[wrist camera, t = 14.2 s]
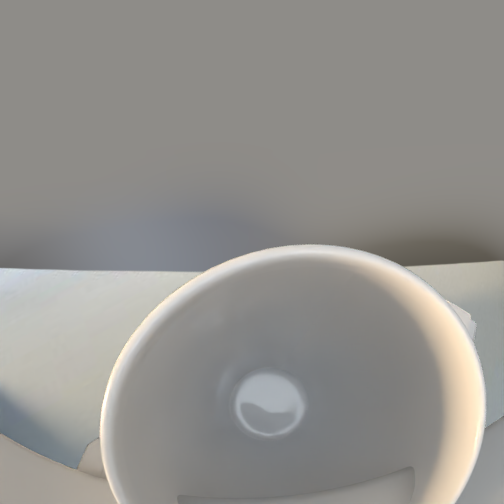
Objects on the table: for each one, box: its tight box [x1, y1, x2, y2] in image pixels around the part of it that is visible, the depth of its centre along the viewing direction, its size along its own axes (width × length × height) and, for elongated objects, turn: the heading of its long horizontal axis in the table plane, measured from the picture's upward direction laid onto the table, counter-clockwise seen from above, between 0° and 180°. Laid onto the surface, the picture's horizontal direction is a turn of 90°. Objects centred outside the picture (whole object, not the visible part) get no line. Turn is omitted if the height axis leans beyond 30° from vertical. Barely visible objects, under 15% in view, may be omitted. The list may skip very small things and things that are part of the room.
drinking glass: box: [100, 244, 487, 504], centre depth 9 cm, size 7×7×15 cm
